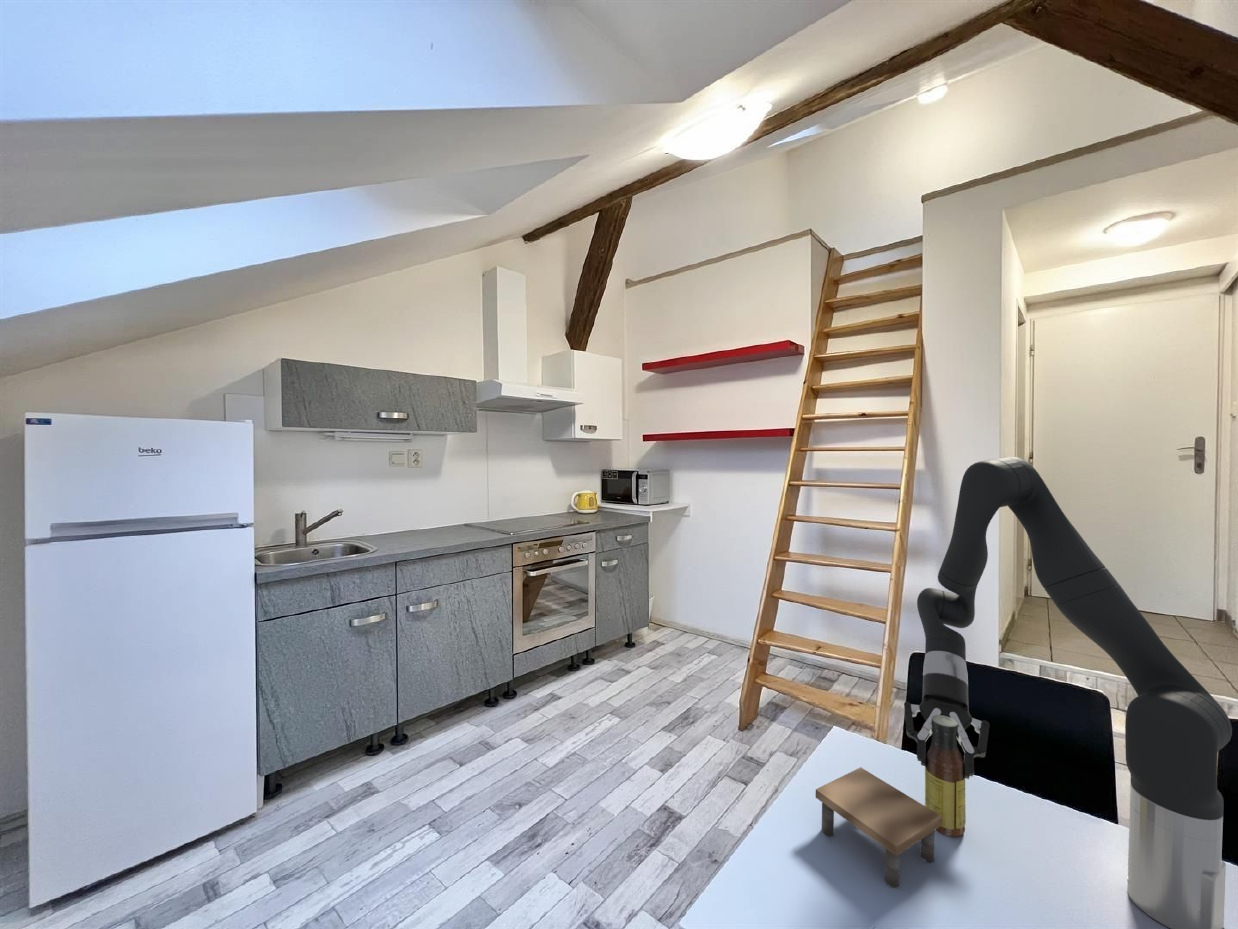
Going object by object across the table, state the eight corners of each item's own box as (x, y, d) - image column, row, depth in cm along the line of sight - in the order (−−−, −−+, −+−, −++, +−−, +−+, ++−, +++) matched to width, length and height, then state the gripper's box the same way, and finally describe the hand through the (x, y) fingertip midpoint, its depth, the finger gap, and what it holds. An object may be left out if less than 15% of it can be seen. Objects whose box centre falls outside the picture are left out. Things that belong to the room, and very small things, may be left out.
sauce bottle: (952, 815, 94) (956, 712, 93) (973, 841, 88) (976, 730, 87) (916, 812, 95) (919, 710, 94) (934, 837, 88) (937, 728, 88)
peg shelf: (941, 860, 84) (942, 816, 83) (895, 894, 77) (896, 846, 77) (860, 805, 97) (860, 767, 96) (815, 830, 90) (815, 789, 90)
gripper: (903, 663, 101) (898, 751, 91) (991, 681, 93) (996, 779, 83) (904, 679, 105) (899, 764, 96) (988, 698, 98) (992, 791, 88)
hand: (944, 770), depth 90 cm, fingers closed on sauce bottle, 6 cm apart
